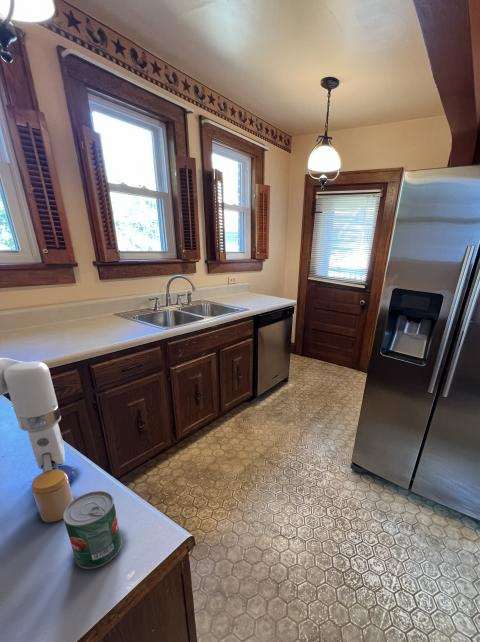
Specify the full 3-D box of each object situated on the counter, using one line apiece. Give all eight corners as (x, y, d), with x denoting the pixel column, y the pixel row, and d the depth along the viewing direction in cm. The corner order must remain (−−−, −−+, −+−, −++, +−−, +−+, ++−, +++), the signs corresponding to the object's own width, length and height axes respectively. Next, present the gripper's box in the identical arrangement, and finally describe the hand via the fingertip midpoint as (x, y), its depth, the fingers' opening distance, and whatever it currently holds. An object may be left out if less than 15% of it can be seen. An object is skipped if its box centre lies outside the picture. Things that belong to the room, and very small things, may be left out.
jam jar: (40, 527, 64) (29, 493, 60) (40, 506, 69) (30, 475, 65) (76, 514, 67) (67, 482, 64) (74, 495, 72) (65, 464, 68)
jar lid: (39, 493, 72) (37, 487, 71) (43, 474, 77) (42, 469, 77) (74, 484, 75) (72, 479, 74) (76, 467, 80) (74, 462, 80)
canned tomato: (65, 560, 58) (51, 516, 54) (100, 526, 65) (91, 485, 60) (97, 575, 55) (86, 531, 51) (131, 539, 62) (123, 498, 58)
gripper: (60, 431, 65) (76, 494, 71) (58, 396, 78) (72, 452, 84) (14, 441, 61) (35, 507, 67) (20, 403, 74) (38, 461, 80)
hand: (56, 477), depth 76 cm, fingers open, 9 cm apart
